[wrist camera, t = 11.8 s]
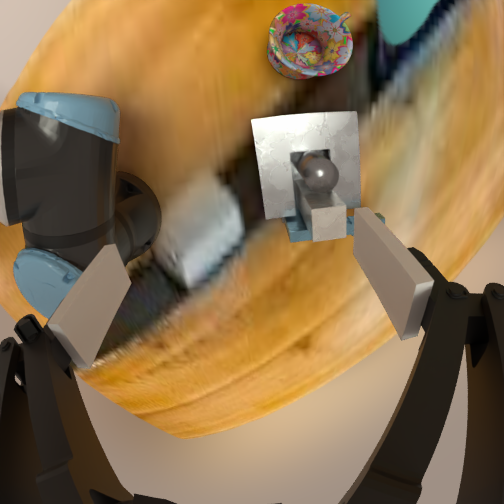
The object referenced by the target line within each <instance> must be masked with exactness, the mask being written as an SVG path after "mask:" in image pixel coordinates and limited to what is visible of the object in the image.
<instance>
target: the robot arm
mask: <svg viewBox="0 0 504 504" xmlns="http://www.w3.org/2000/svg"><path fill="white" fill-rule="evenodd" d="M16 106H18V107H17V108H13V109H8V110H2V111H0V222H1V223H2V224H4V225H5V226H6V227H7V226H11V225H14V224H18V223H22V227H23V233H24V239H25V249H22V250H21V251H20V252H19V253H18V256H17V258H16V261H15V262H14V267H13V272H14V278H15V281H16V284H17V286H18V288H19V290H20V291H21V293H22V295H23V296H24V297H25V299H26V300H27V301H28V302H29V303H30V304H31V305H32V306H33V307H34V308H35V309H36V310H37V311H38V312H39V313H41V314H42V315H43V316H45V317H46V318H48V319H49V320H48V322H47V323H46V325H45V326H44V328H42V327H41V325H40V324H39V322H38V321H37V319H36V317H35V316H34V315H33V314H28V315H26V316H24V317H23V318H21V319H20V320H19V321H18V322H17V324H16V325H15V328H14V331H15V332H16V334H17V335H18V336H19V338H20V339H21V341H22V342H23V343H21V344H18V343H17V342H16V340H15V339H14V338H13V337H8V338H6V339H4V340H3V341H2V342H1V344H0V504H176V503H174V502H171V501H168V500H166V499H160V498H153V497H148V496H143V495H139V494H134V497H133V496H132V495H131V494H130V493H129V492H128V491H127V490H126V489H125V488H124V487H123V486H122V485H121V483H120V482H119V480H118V478H117V476H116V474H115V473H114V471H113V469H112V467H111V465H110V463H109V461H108V459H107V457H106V455H105V453H104V451H103V448H102V446H101V444H100V442H99V440H98V437H97V435H96V433H95V430H94V428H93V426H92V424H91V421H90V418H89V416H88V413H87V410H86V408H85V405H84V402H83V399H82V397H81V394H80V391H79V388H78V385H77V381H76V378H75V375H74V371H73V369H72V367H71V366H70V365H69V364H70V361H71V359H72V360H73V361H74V363H75V364H76V365H77V366H78V368H89V369H90V368H91V366H92V363H93V361H94V359H95V357H96V354H97V352H98V350H99V348H100V345H101V343H102V341H103V339H104V337H105V335H106V333H107V330H108V328H109V326H110V324H111V322H112V320H113V318H114V316H115V314H116V312H117V310H118V308H119V306H120V304H121V302H122V300H123V298H124V296H125V294H126V293H127V291H128V289H129V287H130V285H131V281H130V279H129V276H128V274H127V272H126V269H125V267H126V265H127V263H128V262H129V261H131V260H133V259H135V258H136V257H138V256H140V255H142V254H143V253H145V252H146V251H147V250H148V249H149V248H150V247H151V245H152V244H153V242H154V241H155V239H156V237H157V235H158V233H159V230H160V226H161V211H160V207H159V203H158V201H157V199H156V197H155V195H154V193H153V192H152V190H151V189H150V188H149V187H148V186H147V185H146V184H145V183H144V182H143V181H142V180H140V179H139V178H137V177H136V176H134V175H131V174H128V173H124V172H116V169H117V156H118V145H119V144H120V139H119V124H120V109H119V106H118V105H117V103H116V102H115V101H113V100H112V99H109V98H105V97H99V96H92V95H83V94H72V93H53V92H47V93H45V92H25V93H22V94H21V95H20V96H19V99H18V100H17V102H16ZM353 254H354V256H355V258H356V259H357V261H358V263H359V264H360V266H361V268H362V269H363V271H364V273H365V275H366V276H367V278H368V280H369V282H370V283H371V285H372V287H373V289H374V290H375V292H376V294H377V296H378V297H379V299H380V301H381V303H382V305H383V307H384V308H385V310H386V312H387V314H388V316H389V318H390V320H391V322H392V323H393V325H394V327H395V329H396V331H397V333H398V335H399V337H400V339H401V340H405V339H409V338H412V337H416V336H418V333H419V330H420V327H421V326H422V328H423V329H424V331H425V335H424V337H423V340H422V343H421V345H420V348H419V352H418V355H417V358H416V361H415V364H414V366H413V369H412V371H411V374H410V376H409V379H408V381H407V384H406V386H405V389H404V391H403V393H402V396H401V398H400V400H399V403H398V405H397V407H396V409H395V411H394V413H393V415H392V417H391V420H390V421H389V424H388V426H387V427H386V429H385V431H384V433H383V435H382V437H381V439H380V441H379V442H378V444H377V446H376V448H375V449H374V452H373V453H372V455H371V456H370V458H369V460H368V462H367V463H366V465H365V466H364V468H363V469H362V471H361V473H360V474H359V476H358V477H357V479H356V480H355V482H354V483H353V485H352V486H351V488H350V489H349V490H348V491H347V493H346V494H345V495H344V497H343V498H342V499H341V501H340V502H339V503H338V504H416V503H417V501H418V499H419V497H420V494H421V491H422V486H421V482H422V479H423V476H424V474H425V472H426V470H427V468H428V465H429V463H430V461H431V458H432V456H433V454H434V451H435V449H436V446H437V444H438V441H439V438H440V436H441V433H442V430H443V427H444V424H445V421H446V418H447V415H448V412H449V409H450V405H451V402H452V398H453V395H454V391H455V387H456V383H457V379H458V375H459V370H460V365H461V361H462V355H463V350H464V345H465V349H466V362H467V378H468V420H467V437H466V448H465V458H464V465H463V472H462V478H461V484H460V489H459V494H458V498H457V503H456V504H504V286H503V285H501V284H498V283H489V284H487V285H486V287H485V289H484V292H483V294H475V293H474V294H473V293H469V292H468V290H467V289H466V288H465V287H464V286H463V285H461V284H458V283H455V282H448V281H447V280H446V279H445V277H444V276H443V275H442V274H441V273H440V272H439V271H438V269H437V268H436V267H435V266H433V264H432V263H431V261H430V260H428V258H427V257H426V256H425V255H424V254H423V253H422V252H421V251H419V250H417V249H415V248H414V247H412V248H406V247H405V246H404V245H403V244H402V243H401V241H400V240H399V239H398V238H397V237H396V236H395V235H394V234H393V233H392V232H391V231H390V230H389V228H388V227H387V226H386V225H385V224H384V223H383V222H382V221H381V220H380V219H379V218H378V217H377V216H376V215H375V214H374V213H373V212H372V211H371V210H370V209H369V208H368V207H363V208H354V249H353ZM15 375H16V376H17V378H18V379H19V380H20V381H21V385H19V384H18V383H17V382H16V381H15ZM278 504H282V503H278Z"/></svg>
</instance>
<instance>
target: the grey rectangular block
mask: <svg viewBox="0 0 504 504" xmlns="http://www.w3.org/2000/svg"><path fill="white" fill-rule="evenodd" d="M294 181H295V191H296V201H297V206H298V209H299V211H300V213H301V215H302V217H303V220H304V222H305V224H306V226H307V229H308V231H309V233H310V236H311V238H312V240H313V242H317V241H324V240H331V239H339V238H346V205H345V203H344V202H343V201H342V200H341V199H340V198H339V197H338V195H337V194H336V193H335V192H334V191H333V190H331V191H329V192H326V193H317V192H315V191H313V190H311V189H310V188H309V187H308V185H307V184H306V182H305V181H304V179H298V180H294Z"/></svg>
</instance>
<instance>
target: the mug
mask: <svg viewBox="0 0 504 504" xmlns="http://www.w3.org/2000/svg"><path fill="white" fill-rule="evenodd" d="M350 16H351V14H350V13H349V12H345V13H344V14H342V15H341V16H338V15H336V14H335V13H334V12H332V11H331V10H329V9H327V8H324V7H322V6H319V5H314V4H297V5H293V6H290V7H287V8H285V9H284V10H282V11H281V12H280V13H278V14H277V15H276V17H275V18H274V19H273V21H272V23H271V26H270V30H269V43H268V46H267V55H268V59H269V61H270V63H271V65H272V66H273V67H274V69H275V70H277V71H278V72H279V73H280V74H282V75H284V76H286V77H288V78H292V79H308V78H311V77H313V76H324V75H328V74H332V73H334V72H336V71H338V70H339V69H341V68H342V67H343V66H344V65H345V64H346V63H347V62H348V60H349V58H350V56H351V53H352V48H353V42H352V36H351V33H350V31H349V29H348V27H347V25H346V24H345V23H344V21H345V20H346V19H348V18H349V17H350Z"/></svg>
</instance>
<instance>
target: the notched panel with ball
mask: <svg viewBox="0 0 504 504" xmlns="http://www.w3.org/2000/svg"><path fill="white" fill-rule="evenodd" d="M251 122H252V128H253V135H254V141H255V148H256V154H257V161H258V168H259V174H260V181H261V188H262V195H263V202H264V209H265V216H266V219H272V218H280V217H281V218H282V222H283V223H285V225H286V229H287V232H288V236H289V239H290V243H291V242H299V241H306V240H312V238H311V236H310V233H309V231H308V229H307V226H306V224H305V222H304V220H303V217H302V215H301V213H300V211H299V209H298V206H297V201H296V191H295V181H294V180H298V179H304V181H305V182H306V184H307V185H308V187H309V188H310V189H311V190H313V191H315V192H317V193H326V192H329V191H331V190H333V191H334V192H335V193H336V194H337V195H338V197H339V198H340V199H341V200H342V201H343V202H344V203H345V205H346V209H353V208H361V184H360V152H359V134H358V121H357V111H340V112H318V113H304V114H292V115H282V116H273V117H265V118H257V119H251ZM374 214H375V215H376V216H377V217H378V218H379V219H380V220H381V221H382V222H383V223H384V224H385V218H384V217H383V216H382V215H381V214H380V213H374ZM346 235H352V236H354V216H349V217H346Z"/></svg>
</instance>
